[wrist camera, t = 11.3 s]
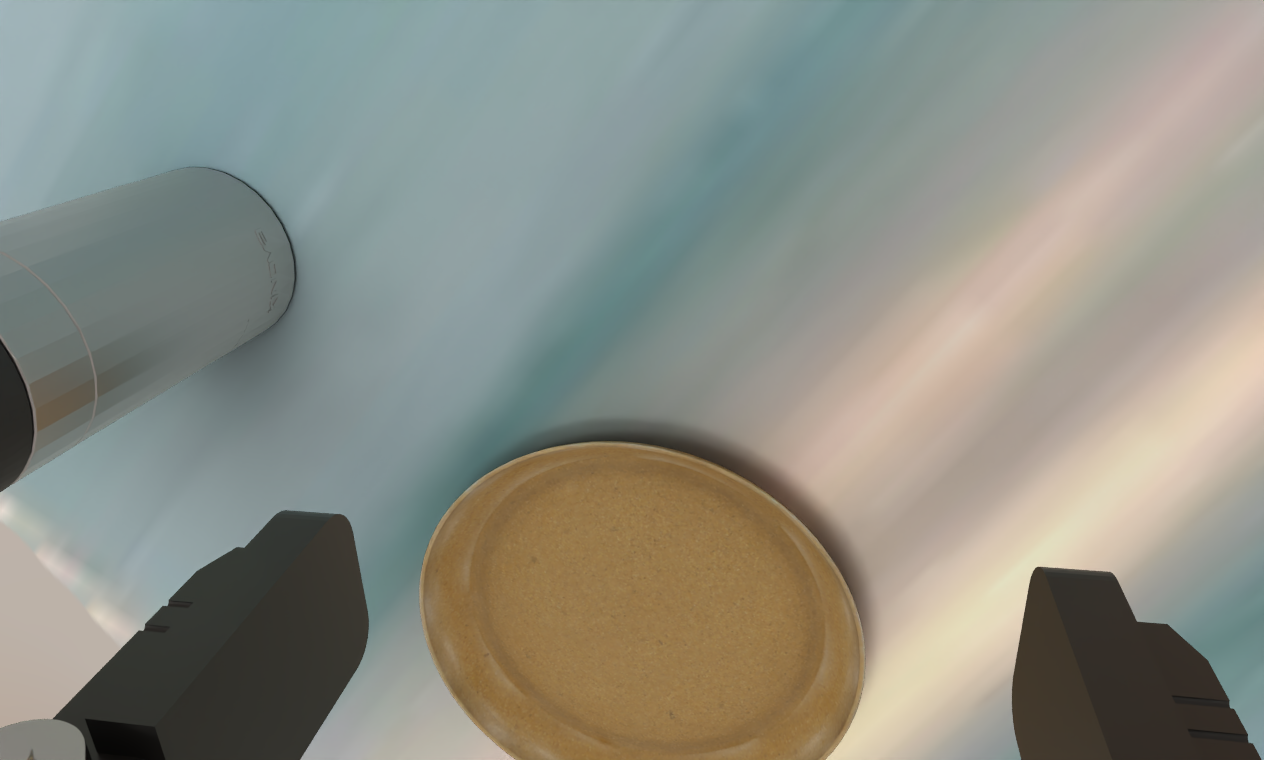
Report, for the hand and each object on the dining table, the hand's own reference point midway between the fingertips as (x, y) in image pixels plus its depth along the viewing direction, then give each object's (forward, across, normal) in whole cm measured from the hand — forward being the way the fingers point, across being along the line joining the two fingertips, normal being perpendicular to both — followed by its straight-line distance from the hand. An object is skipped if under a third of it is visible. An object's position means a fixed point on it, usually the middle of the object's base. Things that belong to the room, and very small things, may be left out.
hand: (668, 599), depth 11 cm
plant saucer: (+33, +6, +27) cm, 43 cm away
